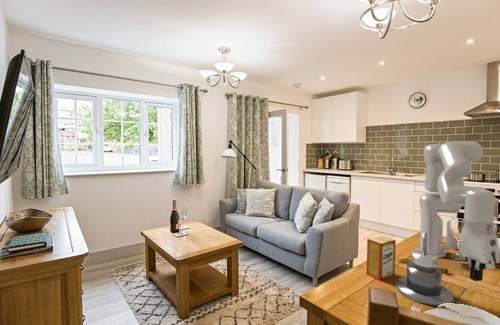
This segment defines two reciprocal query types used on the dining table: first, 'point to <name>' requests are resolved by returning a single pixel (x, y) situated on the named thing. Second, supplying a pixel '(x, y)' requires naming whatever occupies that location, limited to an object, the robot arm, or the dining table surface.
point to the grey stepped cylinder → (424, 287)
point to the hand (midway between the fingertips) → (475, 279)
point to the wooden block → (435, 261)
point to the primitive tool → (411, 261)
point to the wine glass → (450, 238)
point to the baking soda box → (381, 257)
